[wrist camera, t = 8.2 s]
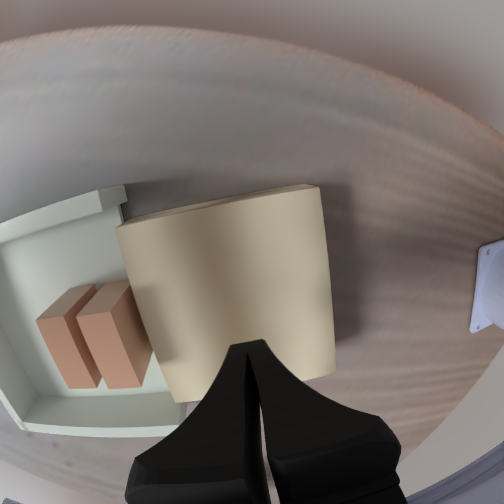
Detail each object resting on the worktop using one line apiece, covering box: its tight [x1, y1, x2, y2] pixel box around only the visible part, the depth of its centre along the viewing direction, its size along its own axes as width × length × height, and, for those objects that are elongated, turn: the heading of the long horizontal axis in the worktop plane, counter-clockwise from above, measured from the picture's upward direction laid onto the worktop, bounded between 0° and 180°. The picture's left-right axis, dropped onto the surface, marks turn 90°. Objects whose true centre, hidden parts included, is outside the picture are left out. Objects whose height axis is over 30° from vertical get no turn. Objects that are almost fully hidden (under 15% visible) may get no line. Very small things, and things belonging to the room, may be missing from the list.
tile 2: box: [35, 284, 102, 389], centre depth 15 cm, size 4×4×2 cm
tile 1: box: [76, 279, 153, 389], centre depth 16 cm, size 4×4×2 cm
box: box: [0, 184, 187, 437], centre depth 16 cm, size 14×15×4 cm
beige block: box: [115, 184, 336, 403], centre depth 17 cm, size 10×11×3 cm
